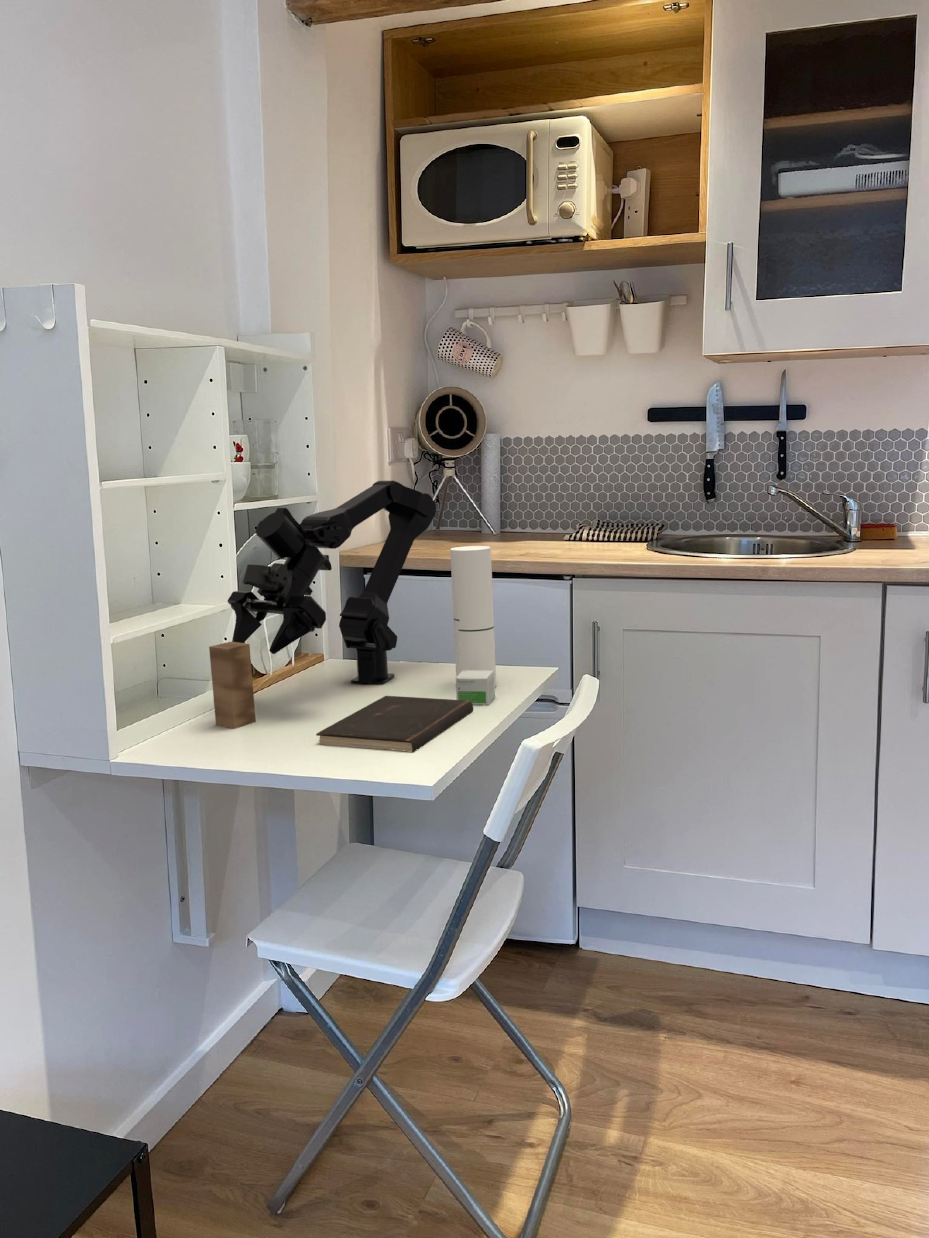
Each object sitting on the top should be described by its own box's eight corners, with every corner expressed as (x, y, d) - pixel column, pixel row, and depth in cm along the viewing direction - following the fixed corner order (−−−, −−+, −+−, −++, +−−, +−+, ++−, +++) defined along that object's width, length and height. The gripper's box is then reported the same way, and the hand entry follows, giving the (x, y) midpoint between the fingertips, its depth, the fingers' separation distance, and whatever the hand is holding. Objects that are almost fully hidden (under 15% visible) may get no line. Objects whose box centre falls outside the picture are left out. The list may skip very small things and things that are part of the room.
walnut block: (237, 718, 170) (230, 641, 168) (255, 721, 168) (249, 643, 165) (215, 724, 167) (209, 646, 164) (234, 728, 164) (227, 649, 162)
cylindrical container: (482, 679, 190) (477, 545, 185) (503, 686, 184) (498, 547, 179) (449, 685, 186) (442, 548, 182) (469, 693, 180) (463, 551, 176)
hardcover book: (317, 748, 154) (316, 733, 153) (386, 708, 174) (385, 695, 174) (413, 756, 147) (413, 740, 147) (473, 714, 168) (472, 700, 168)
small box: (456, 705, 173) (454, 677, 172) (463, 697, 178) (462, 669, 177) (489, 706, 171) (488, 677, 170) (495, 697, 177) (494, 669, 176)
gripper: (231, 544, 176) (185, 617, 169) (309, 547, 165) (262, 625, 158) (269, 583, 183) (226, 655, 177) (345, 589, 172) (302, 665, 165)
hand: (252, 650), depth 169 cm, fingers open, 9 cm apart
